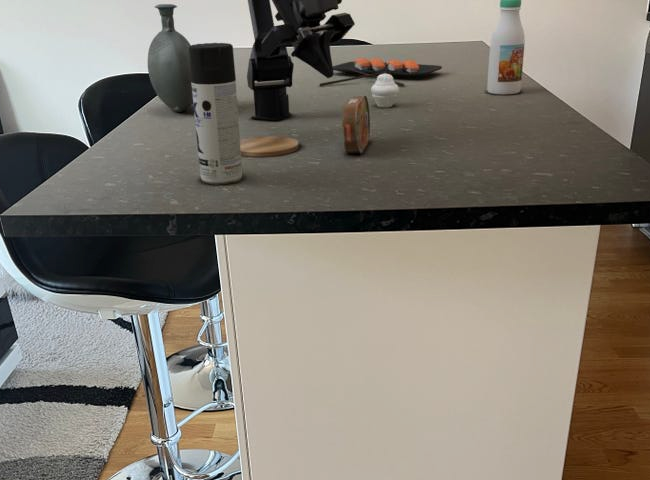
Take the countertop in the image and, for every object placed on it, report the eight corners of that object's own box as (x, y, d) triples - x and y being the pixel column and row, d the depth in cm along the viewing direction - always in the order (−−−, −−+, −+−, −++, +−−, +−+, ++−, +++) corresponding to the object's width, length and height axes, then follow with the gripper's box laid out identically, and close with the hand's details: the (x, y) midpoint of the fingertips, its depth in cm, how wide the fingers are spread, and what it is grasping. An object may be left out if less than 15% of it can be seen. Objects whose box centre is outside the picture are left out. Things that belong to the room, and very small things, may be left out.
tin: (358, 158, 132) (358, 107, 128) (340, 158, 132) (339, 107, 128) (371, 138, 145) (371, 91, 140) (354, 138, 145) (354, 91, 141)
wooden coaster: (219, 153, 138) (219, 148, 138) (254, 138, 147) (254, 134, 147) (277, 159, 133) (277, 154, 133) (310, 143, 142) (310, 139, 142)
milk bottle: (483, 94, 180) (490, 0, 170) (490, 88, 186) (496, -3, 176) (517, 95, 177) (525, -1, 167) (522, 90, 183) (531, -3, 174)
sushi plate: (445, 73, 208) (446, 58, 206) (394, 91, 186) (394, 75, 184) (353, 67, 222) (352, 53, 220) (294, 84, 200) (293, 68, 198)
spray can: (202, 174, 126) (188, 43, 116) (243, 172, 126) (233, 41, 117) (199, 186, 120) (185, 48, 110) (243, 183, 120) (232, 46, 111)
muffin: (374, 109, 168) (375, 75, 165) (367, 104, 173) (367, 71, 170) (402, 107, 169) (402, 74, 166) (394, 102, 174) (394, 69, 171)
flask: (207, 102, 181) (196, -1, 170) (200, 117, 166) (189, 5, 156) (157, 105, 181) (144, 1, 170) (146, 120, 166) (131, 8, 155)
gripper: (272, -26, 126) (317, 59, 126) (350, -37, 137) (391, 41, 137) (242, 17, 135) (284, 96, 135) (317, 3, 146) (356, 76, 146)
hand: (331, 76), depth 138 cm, fingers closed
